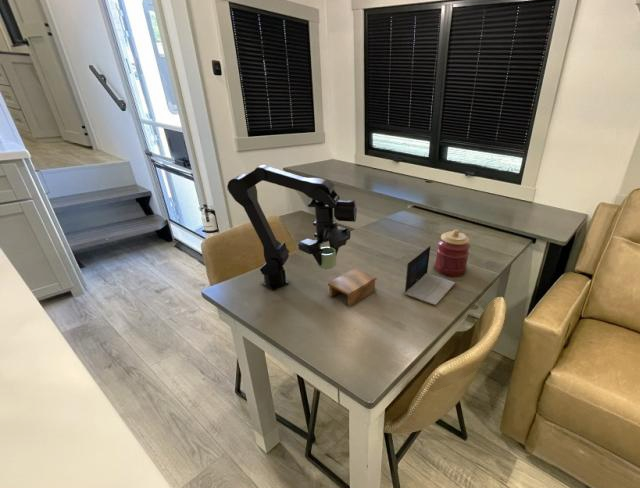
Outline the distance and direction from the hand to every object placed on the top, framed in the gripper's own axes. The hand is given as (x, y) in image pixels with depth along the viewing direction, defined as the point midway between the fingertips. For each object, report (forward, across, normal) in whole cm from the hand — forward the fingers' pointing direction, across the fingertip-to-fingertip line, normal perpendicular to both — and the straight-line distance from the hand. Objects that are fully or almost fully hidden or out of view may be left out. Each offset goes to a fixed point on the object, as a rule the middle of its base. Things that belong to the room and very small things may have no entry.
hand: (327, 261), depth 115 cm
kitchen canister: (+11, +43, -27) cm, 52 cm away
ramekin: (+1, 0, 0) cm, 1 cm away
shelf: (+11, +3, -9) cm, 14 cm away
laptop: (+11, +24, -29) cm, 39 cm away
